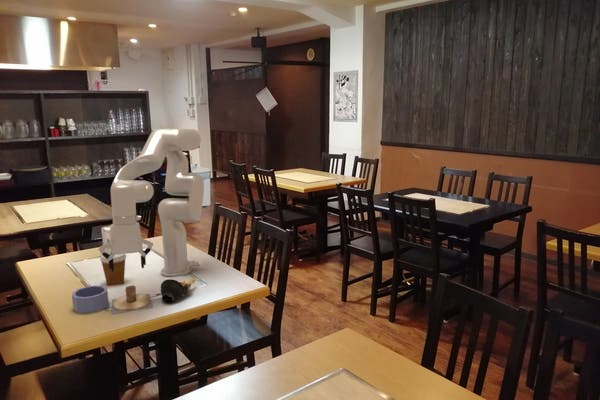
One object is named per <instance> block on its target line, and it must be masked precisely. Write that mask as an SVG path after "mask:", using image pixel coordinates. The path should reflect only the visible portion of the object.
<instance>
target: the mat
mask: <svg viewBox="0 0 600 400" xmlns="http://www.w3.org/2000/svg"><path fill="white" fill-rule="evenodd" d="M144 295H147V296H148V297H149V298H150V302H149V304H148V305H147V306H145V307H143V308H140V309H137V310H131V311H120V310H116V309H115V308H114V307H113V302H114V301H115V300H116V299H117V298H112V299H111V314H112V315H116V314H123V313H129V312H130V313H131V312H134V311H135V312H136V311H142V310H147V309H148V310H149V309H153V308H154V307H153V302H152V299H151V298H152V297H151V294H150V293H146V294H144Z"/></svg>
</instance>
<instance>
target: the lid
mask: <svg viewBox="0 0 600 400" xmlns="http://www.w3.org/2000/svg"><path fill="white" fill-rule="evenodd" d="M115 299H116V300H115V301H114V302H113V307H114V308H115V309H116V310H120V311H130V312H132V311H131V310H136V311H138V310H137V309H140V308H143V307H145V306H147V305H148V304H149V302H150V298H149V297H148V296H147V295H145V294H142V293H137V291H136V286H135V285H129V286H126V287H125V295H123V296H120V297H118V298H115Z"/></svg>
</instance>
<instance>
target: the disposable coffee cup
mask: <svg viewBox="0 0 600 400" xmlns="http://www.w3.org/2000/svg"><path fill="white" fill-rule="evenodd" d="M107 253H108V254H110V253H111V252H107ZM126 258H127V255H126V254H115V256H114V257H113V263H114V271H113V272H112V269H109V260H108V259H106V258H105V257H104V256H103V255H102V254H101V255H100V258H99V260H100V262H101V264H102V269H103V274H104V277H105V281H106V286H108V287H110V286H119V285H124V284H125V270H126Z"/></svg>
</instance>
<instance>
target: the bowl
mask: <svg viewBox="0 0 600 400" xmlns="http://www.w3.org/2000/svg"><path fill="white" fill-rule="evenodd" d="M71 299H72V300H71V301H72V309H73V311H74V312H76V313H78V314H92V313H97V312H100V311H103V310H104V309H107V307H108V306H109V290H108V287H106V286H104V285H97V284H96V285H88V286H83V287H81V288H77V289H76V290H74V291H72V292H71Z"/></svg>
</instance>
